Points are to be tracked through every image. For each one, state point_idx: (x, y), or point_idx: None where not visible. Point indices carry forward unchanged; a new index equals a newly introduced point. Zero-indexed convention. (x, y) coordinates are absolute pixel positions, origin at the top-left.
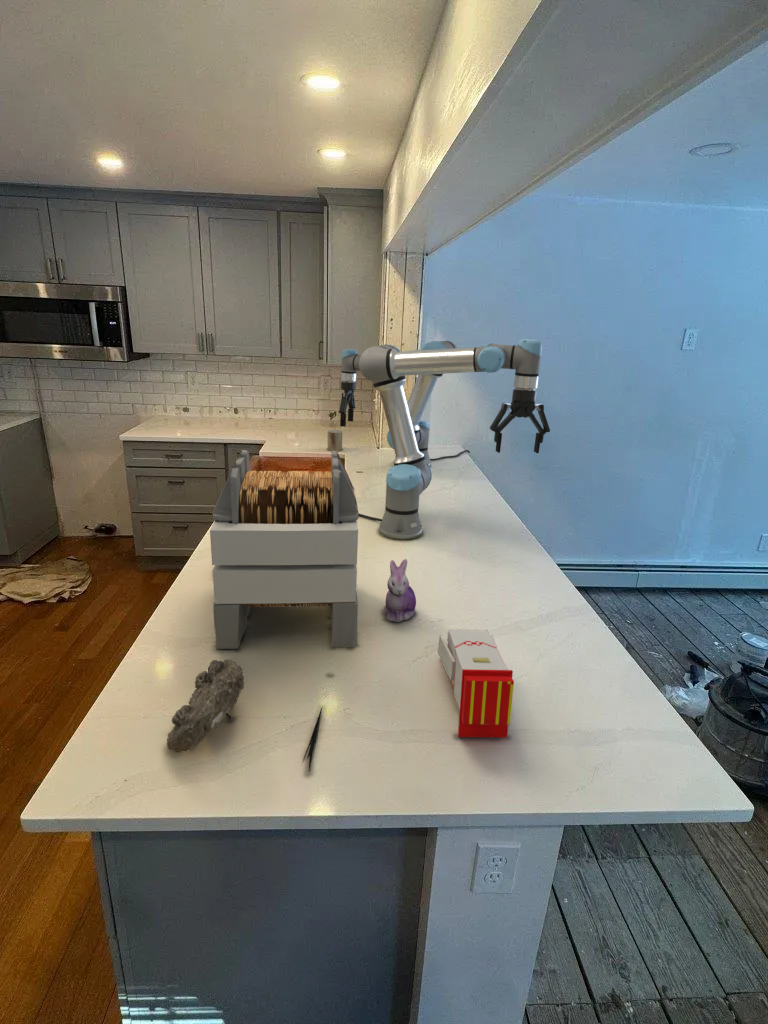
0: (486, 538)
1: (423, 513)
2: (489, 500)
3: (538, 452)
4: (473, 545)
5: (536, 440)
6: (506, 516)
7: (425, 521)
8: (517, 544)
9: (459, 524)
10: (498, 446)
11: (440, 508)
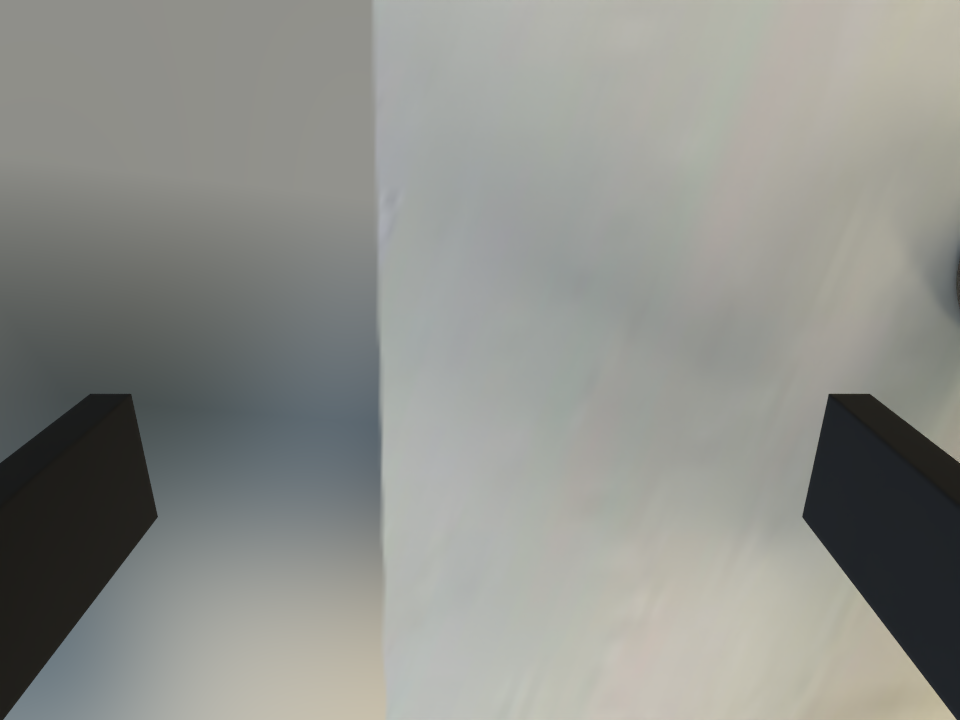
0: (617, 156)
1: None
2: (417, 672)
3: (88, 398)
4: (737, 44)
5: (8, 621)
6: (393, 472)
7: None
8: (461, 55)
9: (695, 364)
10: (944, 455)
11: (712, 575)
